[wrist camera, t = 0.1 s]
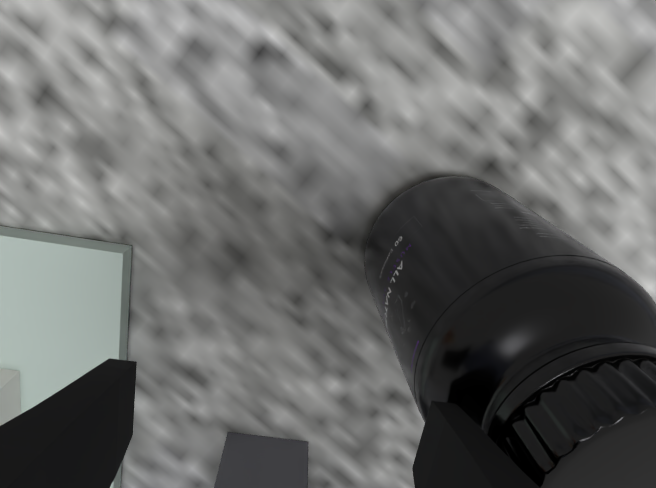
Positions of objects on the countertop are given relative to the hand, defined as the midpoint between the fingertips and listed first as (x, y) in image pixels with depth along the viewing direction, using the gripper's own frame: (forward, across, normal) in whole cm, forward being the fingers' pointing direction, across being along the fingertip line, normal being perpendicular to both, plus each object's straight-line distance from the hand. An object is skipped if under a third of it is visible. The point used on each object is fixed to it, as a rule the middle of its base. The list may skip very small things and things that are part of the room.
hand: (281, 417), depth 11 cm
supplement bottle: (+10, -6, -2) cm, 12 cm away
